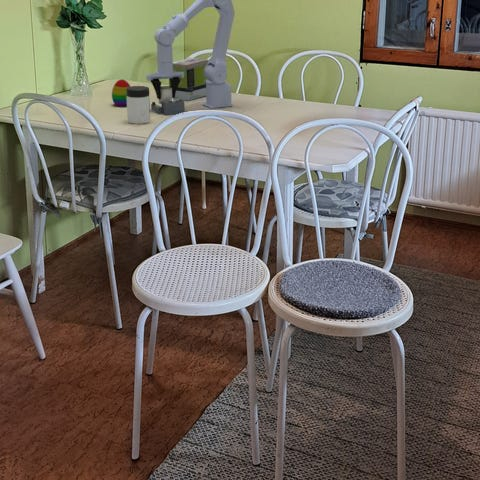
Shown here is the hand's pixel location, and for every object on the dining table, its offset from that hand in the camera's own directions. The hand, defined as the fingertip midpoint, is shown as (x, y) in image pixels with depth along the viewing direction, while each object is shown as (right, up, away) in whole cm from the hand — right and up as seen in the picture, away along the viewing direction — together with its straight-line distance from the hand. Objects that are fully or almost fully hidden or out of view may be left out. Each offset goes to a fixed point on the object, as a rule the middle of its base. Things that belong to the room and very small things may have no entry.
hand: (165, 97), depth 304 cm
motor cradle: (+1, -5, -1) cm, 5 cm away
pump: (0, -2, +1) cm, 2 cm away
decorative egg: (-18, -1, +9) cm, 20 cm away
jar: (-8, -11, -16) cm, 21 cm away
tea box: (+8, +5, +25) cm, 26 cm away
